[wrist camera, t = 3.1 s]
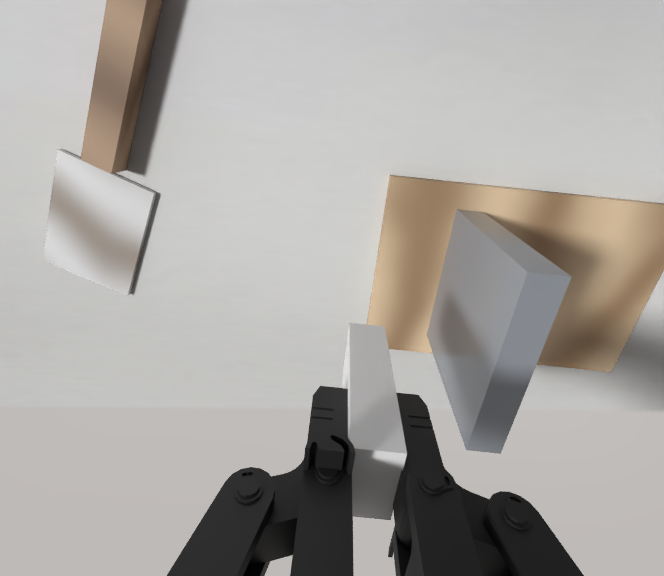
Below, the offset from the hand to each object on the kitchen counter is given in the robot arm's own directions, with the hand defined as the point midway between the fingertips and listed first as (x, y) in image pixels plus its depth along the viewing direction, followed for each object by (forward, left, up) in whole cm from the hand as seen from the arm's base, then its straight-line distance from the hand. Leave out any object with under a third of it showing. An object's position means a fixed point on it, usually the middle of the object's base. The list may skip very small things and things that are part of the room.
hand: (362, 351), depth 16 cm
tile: (-5, +4, -9) cm, 11 cm away
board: (-7, +7, -10) cm, 14 cm away
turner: (+8, -15, -10) cm, 20 cm away
